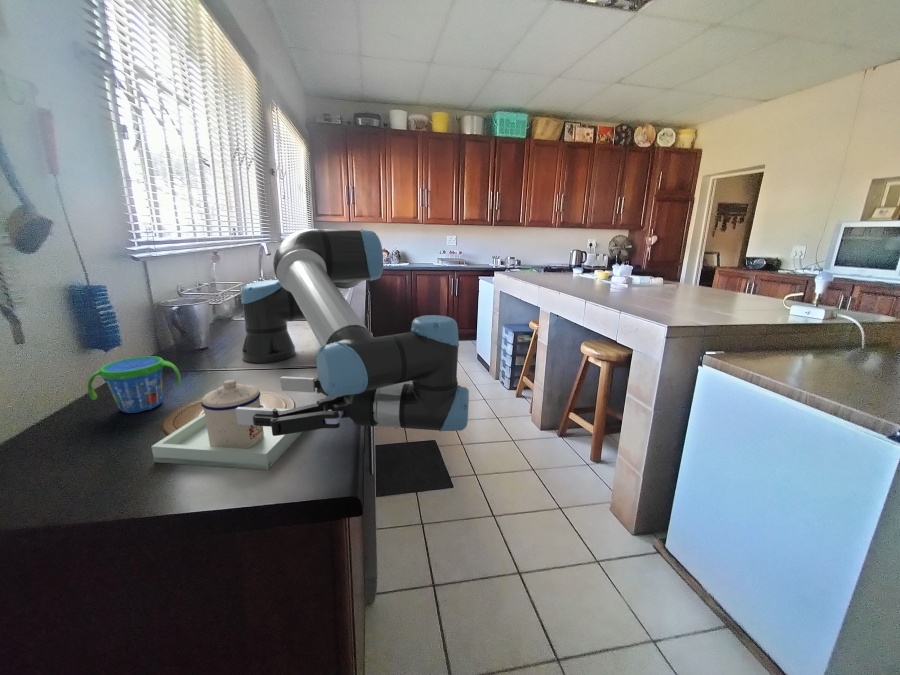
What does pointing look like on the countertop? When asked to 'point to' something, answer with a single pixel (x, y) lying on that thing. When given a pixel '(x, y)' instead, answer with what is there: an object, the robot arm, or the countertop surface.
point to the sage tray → (219, 448)
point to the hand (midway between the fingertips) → (261, 398)
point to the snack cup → (134, 382)
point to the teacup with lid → (231, 416)
